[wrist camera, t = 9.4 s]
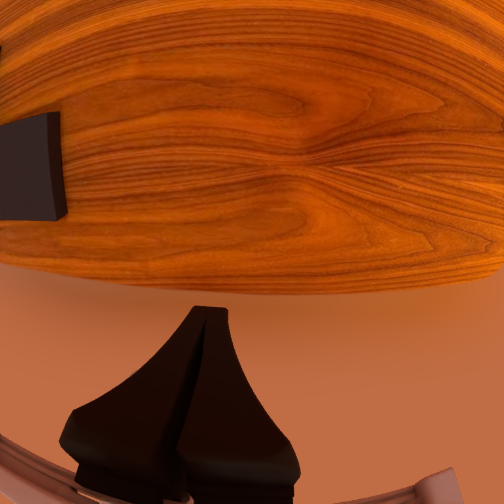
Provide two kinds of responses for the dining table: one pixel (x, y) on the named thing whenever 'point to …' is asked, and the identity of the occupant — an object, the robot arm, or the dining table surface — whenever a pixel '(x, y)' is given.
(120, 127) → the dining table surface
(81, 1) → the dining table surface
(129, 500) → the robot arm
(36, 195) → the small pad
